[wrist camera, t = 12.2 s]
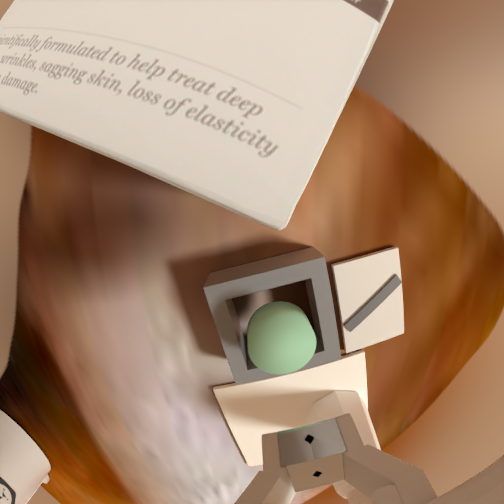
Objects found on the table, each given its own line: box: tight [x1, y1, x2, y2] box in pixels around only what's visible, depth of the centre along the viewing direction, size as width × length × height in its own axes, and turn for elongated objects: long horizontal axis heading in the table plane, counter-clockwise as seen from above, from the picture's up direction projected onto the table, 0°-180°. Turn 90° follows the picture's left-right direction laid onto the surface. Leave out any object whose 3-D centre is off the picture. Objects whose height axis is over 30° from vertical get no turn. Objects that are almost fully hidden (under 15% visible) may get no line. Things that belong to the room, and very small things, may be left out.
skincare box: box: [0, 0, 394, 230], centre depth 10 cm, size 8×6×15 cm
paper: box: [213, 350, 368, 467], centre depth 22 cm, size 12×11×1 cm
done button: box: [247, 301, 316, 375], centre depth 16 cm, size 4×4×2 cm
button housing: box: [203, 247, 341, 385], centre depth 18 cm, size 7×7×3 cm
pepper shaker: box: [305, 391, 381, 504], centre depth 16 cm, size 5×5×11 cm
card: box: [331, 246, 404, 353], centre depth 20 cm, size 5×7×1 cm
